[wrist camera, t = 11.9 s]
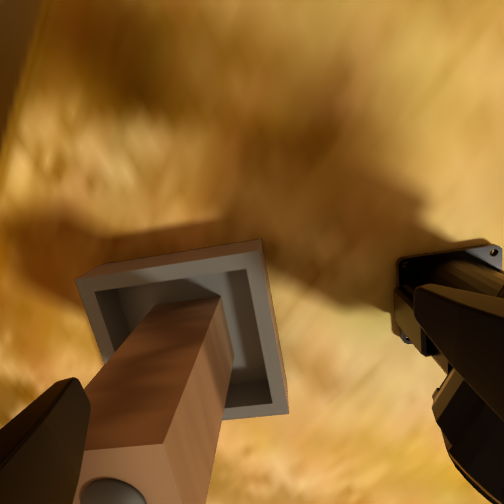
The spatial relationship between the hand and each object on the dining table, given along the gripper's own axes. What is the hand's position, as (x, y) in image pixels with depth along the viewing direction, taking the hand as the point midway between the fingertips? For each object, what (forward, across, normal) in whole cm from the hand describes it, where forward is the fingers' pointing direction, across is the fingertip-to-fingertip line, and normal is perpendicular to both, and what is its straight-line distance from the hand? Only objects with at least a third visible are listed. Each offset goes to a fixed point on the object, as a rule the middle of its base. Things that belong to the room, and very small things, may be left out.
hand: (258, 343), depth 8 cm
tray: (+14, +3, +8) cm, 16 cm away
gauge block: (+13, +4, +8) cm, 16 cm away
